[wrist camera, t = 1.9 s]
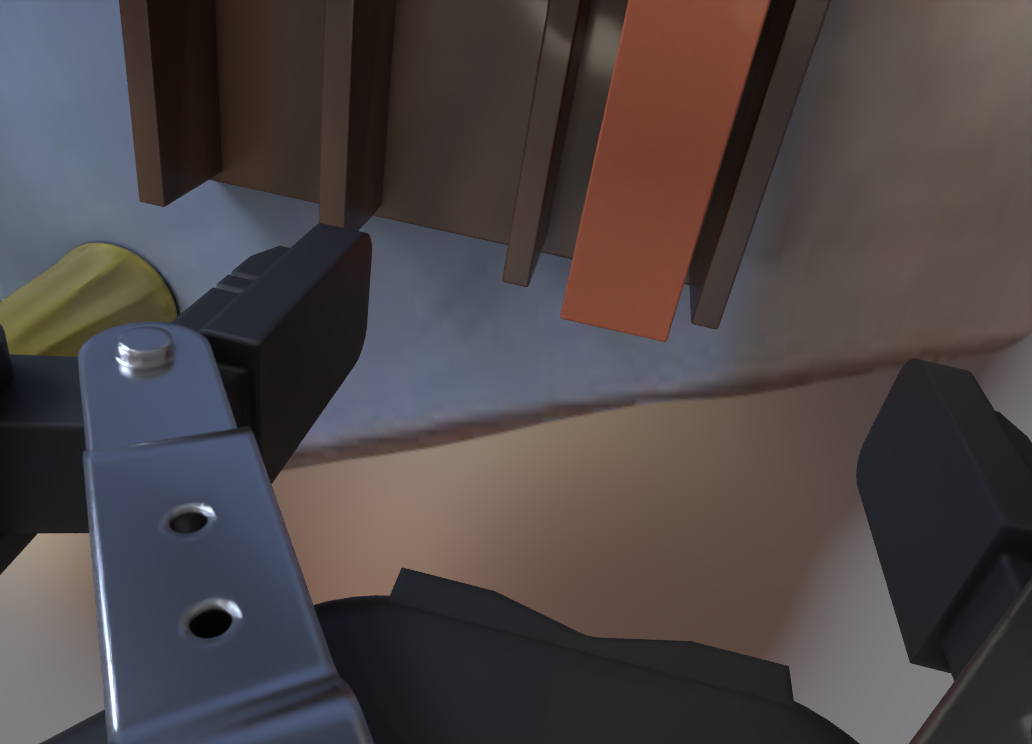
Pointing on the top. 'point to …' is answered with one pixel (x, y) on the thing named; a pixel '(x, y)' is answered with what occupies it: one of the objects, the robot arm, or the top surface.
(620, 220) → the terracotta rectangular prism
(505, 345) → the top surface
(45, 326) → the vase
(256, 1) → the rack
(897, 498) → the robot arm
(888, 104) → the top surface
